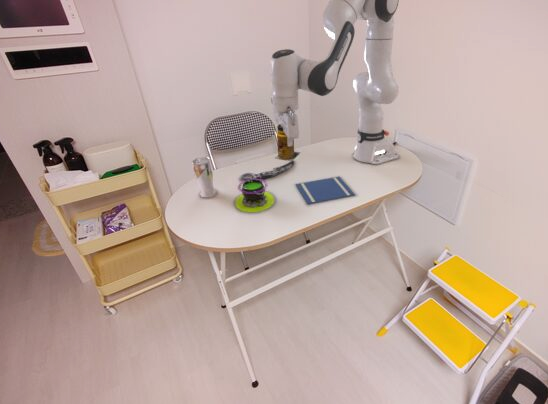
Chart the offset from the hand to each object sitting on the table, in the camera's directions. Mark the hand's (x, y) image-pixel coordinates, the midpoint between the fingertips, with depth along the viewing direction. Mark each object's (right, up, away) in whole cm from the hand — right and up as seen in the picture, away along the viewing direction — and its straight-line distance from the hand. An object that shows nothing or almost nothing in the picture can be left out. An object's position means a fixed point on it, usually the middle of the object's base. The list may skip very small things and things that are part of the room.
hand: (287, 141), depth 110 cm
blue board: (+14, -17, +15) cm, 27 cm away
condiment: (0, -5, +4) cm, 6 cm away
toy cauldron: (-13, -22, +9) cm, 27 cm away
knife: (-10, -8, +29) cm, 32 cm away
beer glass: (-33, -19, +14) cm, 41 cm away
